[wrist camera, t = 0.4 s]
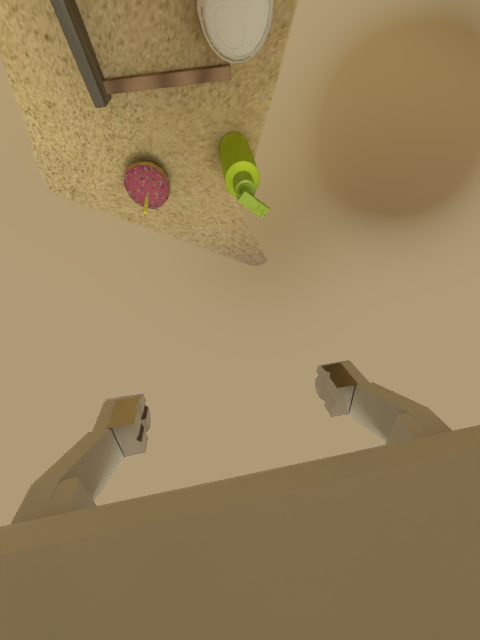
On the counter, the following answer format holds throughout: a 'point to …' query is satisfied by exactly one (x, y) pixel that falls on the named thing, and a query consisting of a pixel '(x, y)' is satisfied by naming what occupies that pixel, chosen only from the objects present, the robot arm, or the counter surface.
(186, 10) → the counter surface
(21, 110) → the counter surface
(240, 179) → the soap dispenser
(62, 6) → the u-shaped wooden rack
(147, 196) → the cupcake
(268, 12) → the supplement can
